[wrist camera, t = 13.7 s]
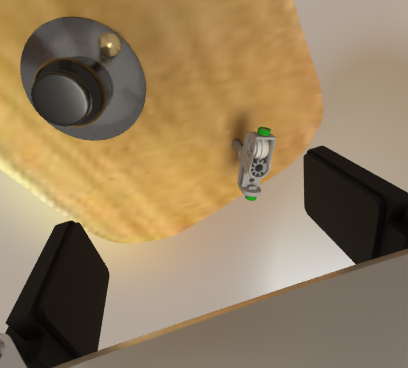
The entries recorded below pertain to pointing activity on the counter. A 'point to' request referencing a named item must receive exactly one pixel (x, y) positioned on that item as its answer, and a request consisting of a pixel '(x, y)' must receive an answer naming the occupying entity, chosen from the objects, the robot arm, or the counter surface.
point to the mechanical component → (254, 160)
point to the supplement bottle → (71, 91)
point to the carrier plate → (101, 52)
